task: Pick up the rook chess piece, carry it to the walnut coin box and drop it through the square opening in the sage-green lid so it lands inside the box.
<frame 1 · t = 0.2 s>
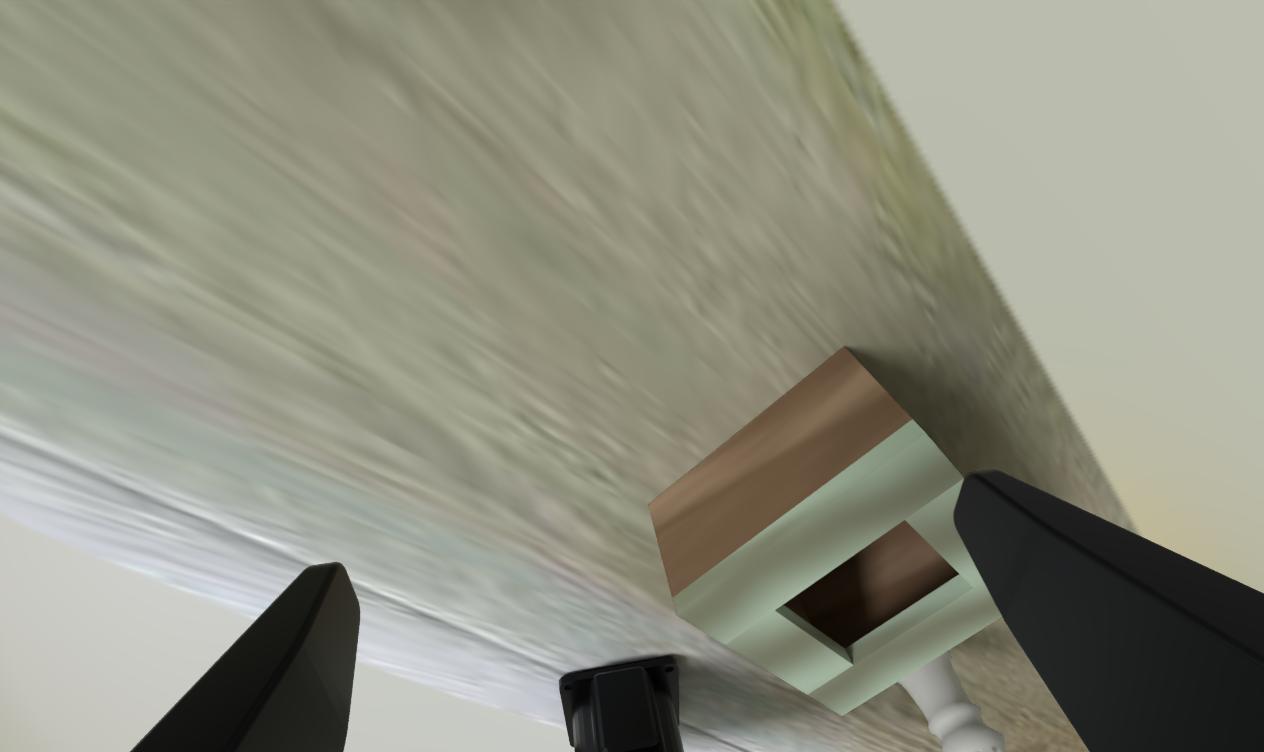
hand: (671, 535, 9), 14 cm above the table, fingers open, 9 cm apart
coin box: (815, 496, 30), on the table
rook chess piece: (896, 625, 37), on the table
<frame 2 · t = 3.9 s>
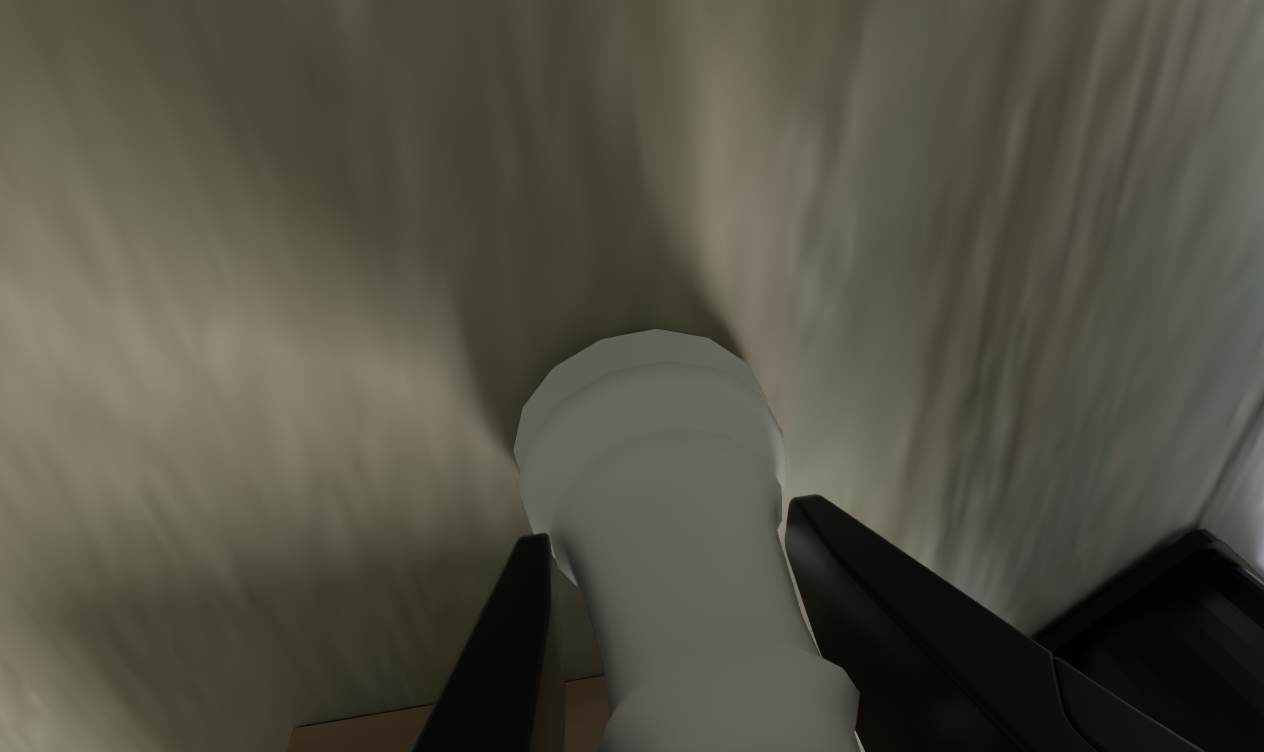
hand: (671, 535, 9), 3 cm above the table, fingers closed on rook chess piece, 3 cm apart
rook chess piece: (638, 422, 11), on the table, touching gripper
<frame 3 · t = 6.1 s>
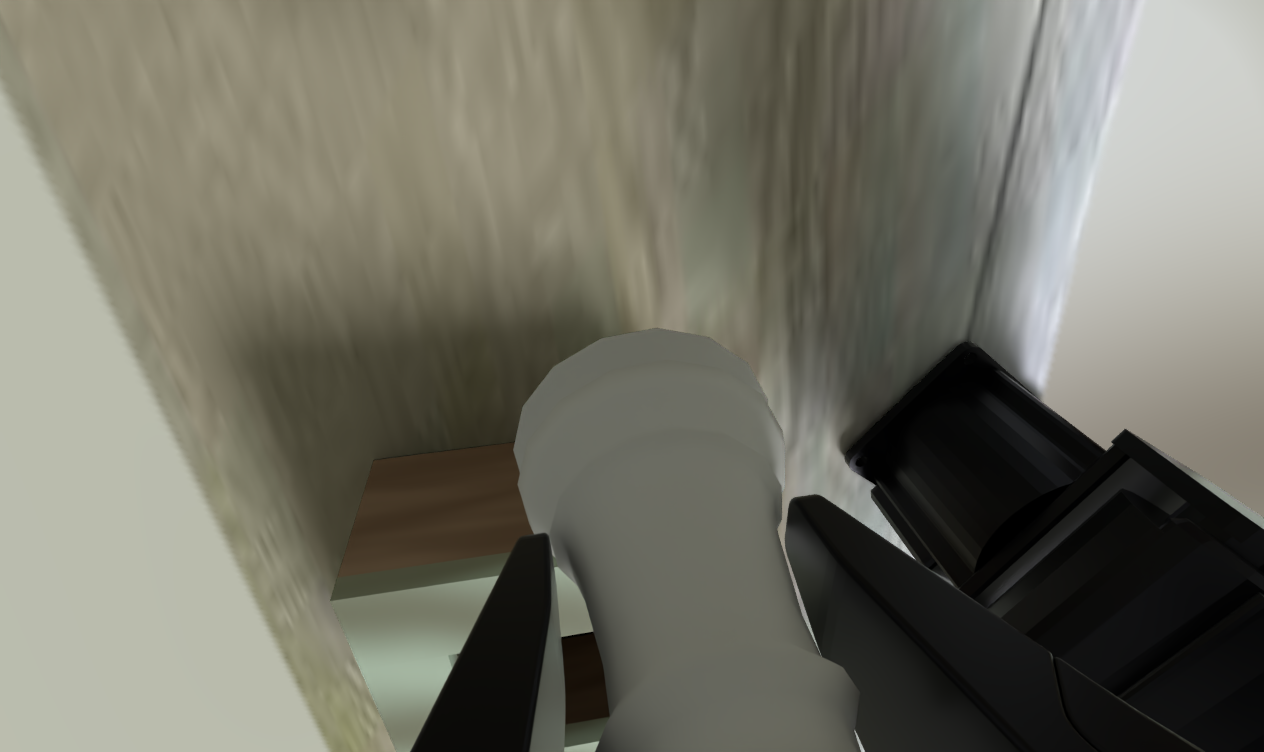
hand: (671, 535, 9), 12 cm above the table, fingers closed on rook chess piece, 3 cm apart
coin box: (551, 557, 25), on the table
rook chess piece: (638, 421, 11), point 9 cm above the table, touching gripper
when the fingers open (10 cm above the table, at t = 8.4 s): rook chess piece drops 7 cm, resting in coin box.
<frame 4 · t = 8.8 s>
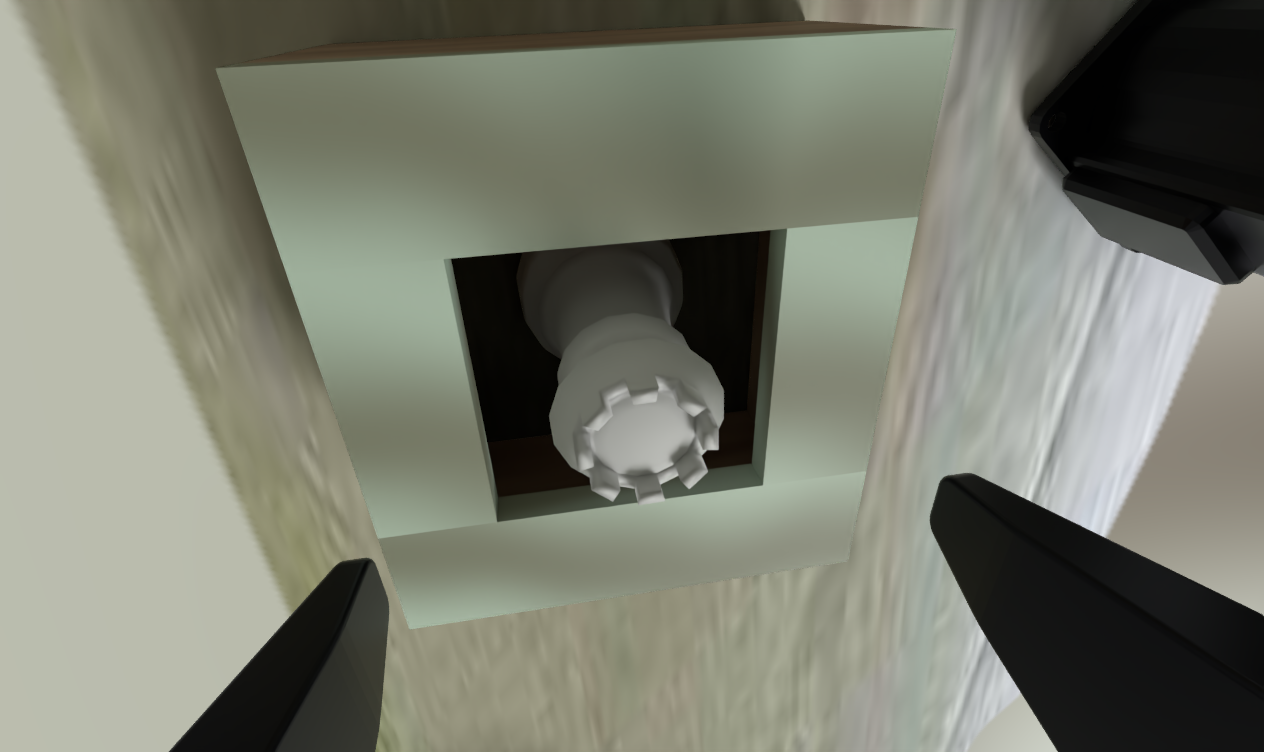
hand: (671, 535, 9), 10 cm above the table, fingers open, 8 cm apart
coin box: (595, 276, 17), on the table
rook chess piece: (596, 272, 18), resting in coin box
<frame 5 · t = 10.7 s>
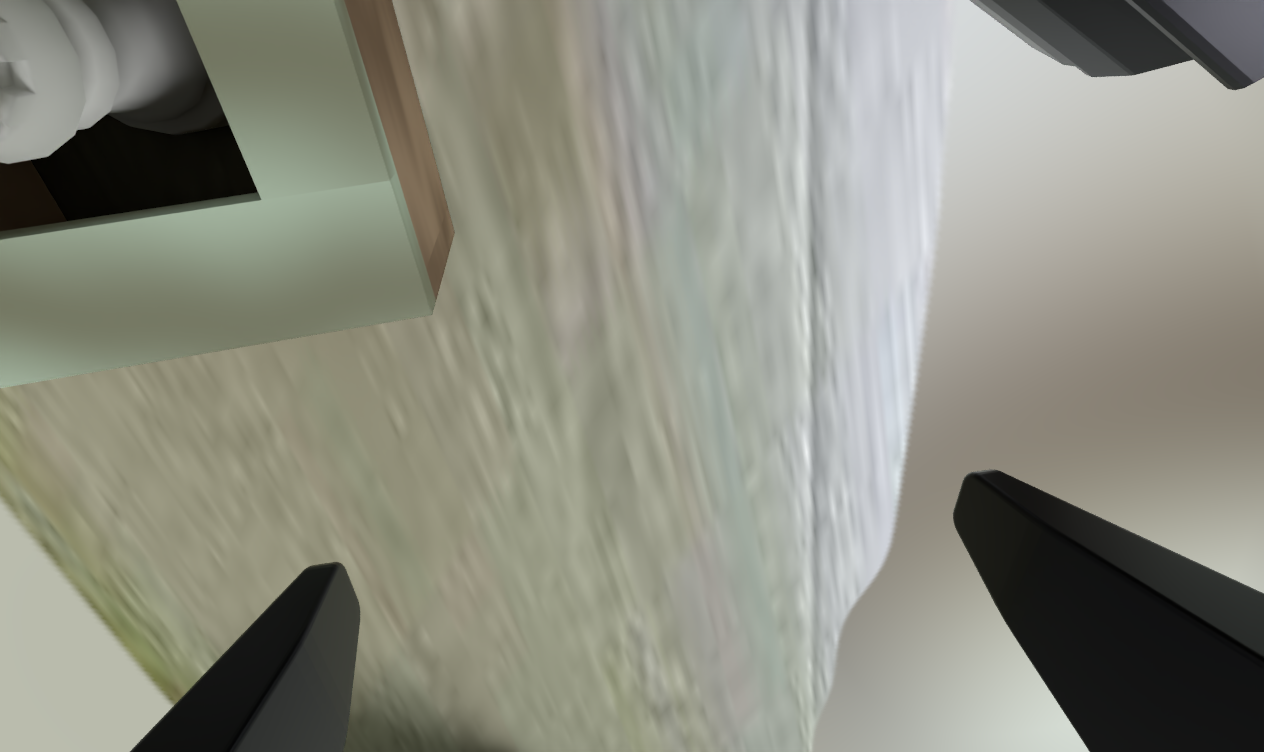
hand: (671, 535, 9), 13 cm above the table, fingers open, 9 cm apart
coin box: (171, 36, 16), on the table
rook chess piece: (177, 33, 16), resting in coin box
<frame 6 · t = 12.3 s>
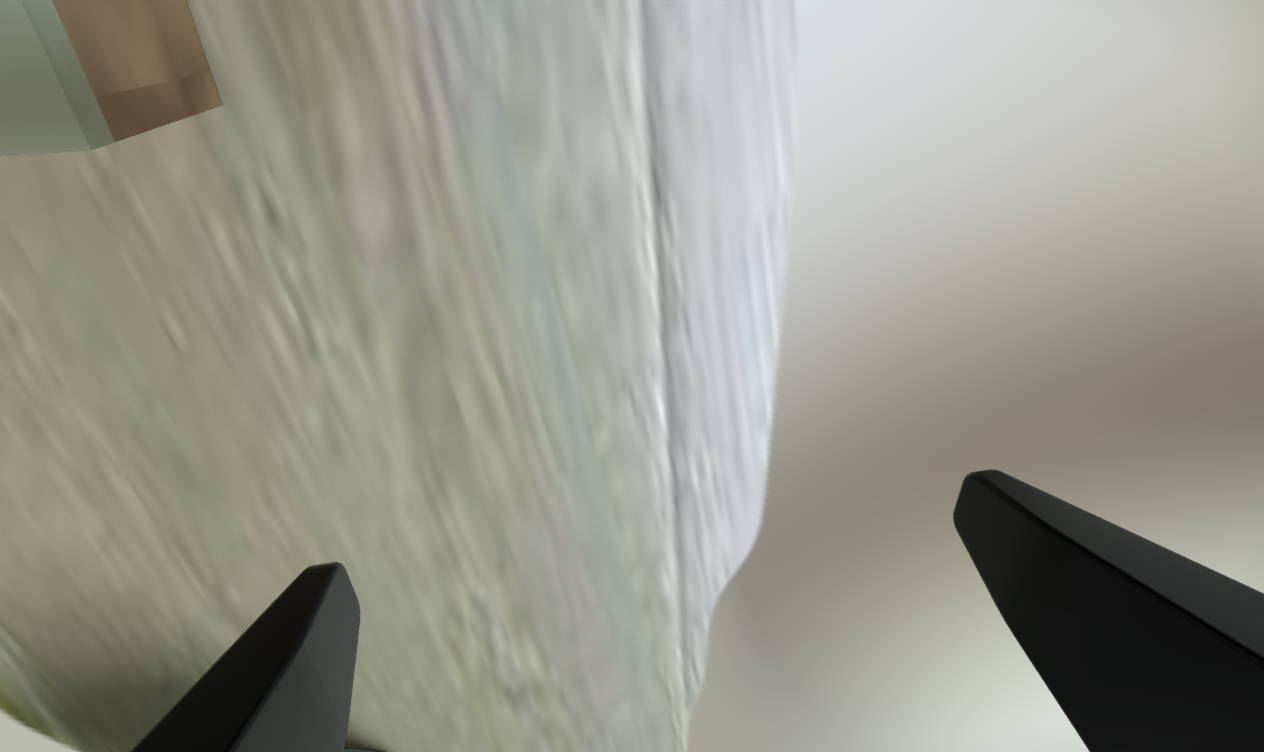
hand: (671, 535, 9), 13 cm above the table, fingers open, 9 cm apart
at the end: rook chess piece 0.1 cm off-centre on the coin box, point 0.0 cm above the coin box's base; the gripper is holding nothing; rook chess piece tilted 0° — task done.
